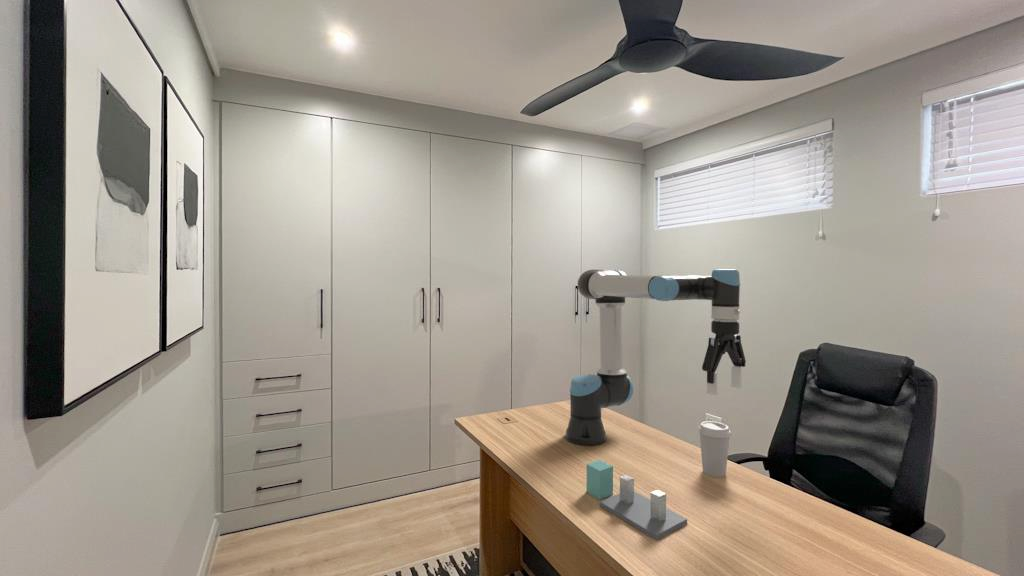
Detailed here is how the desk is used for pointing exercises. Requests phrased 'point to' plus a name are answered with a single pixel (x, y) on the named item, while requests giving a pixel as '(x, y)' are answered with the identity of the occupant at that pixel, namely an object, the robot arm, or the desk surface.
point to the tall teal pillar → (599, 479)
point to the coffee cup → (714, 447)
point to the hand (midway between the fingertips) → (724, 390)
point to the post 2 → (658, 506)
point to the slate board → (643, 516)
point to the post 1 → (627, 489)
